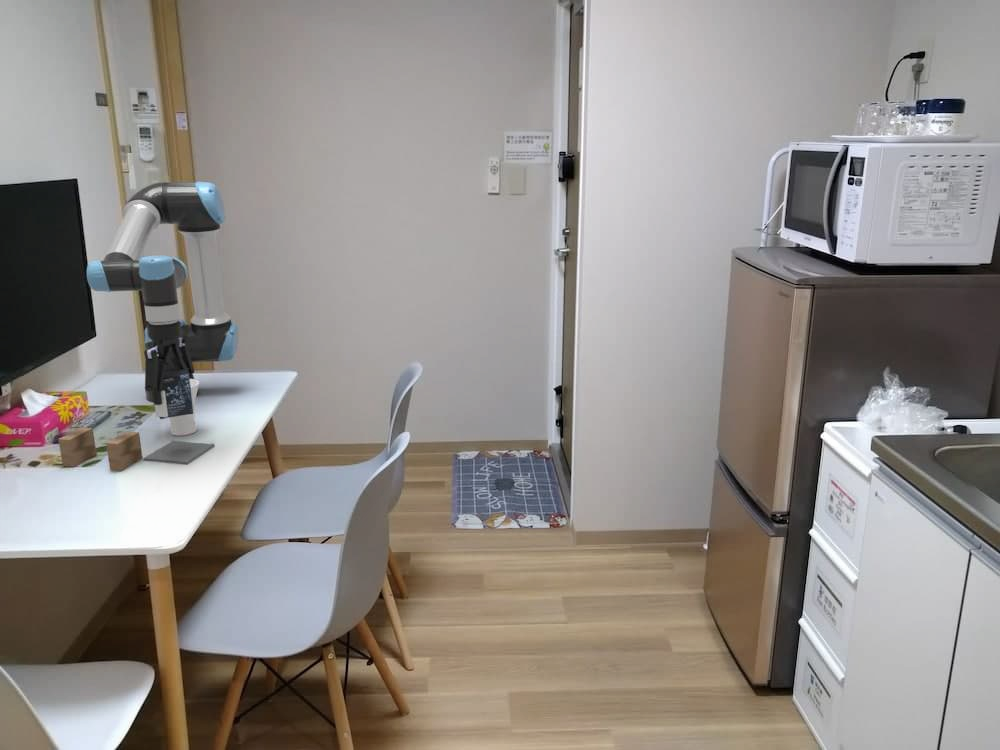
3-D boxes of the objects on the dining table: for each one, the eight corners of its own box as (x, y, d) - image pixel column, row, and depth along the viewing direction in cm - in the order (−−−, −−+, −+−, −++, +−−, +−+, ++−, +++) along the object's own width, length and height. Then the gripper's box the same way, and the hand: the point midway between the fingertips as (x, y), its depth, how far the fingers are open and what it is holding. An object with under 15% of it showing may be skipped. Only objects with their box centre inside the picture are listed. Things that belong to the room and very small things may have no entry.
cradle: (86, 453, 193) (81, 427, 191) (142, 458, 190) (138, 432, 188) (62, 465, 186) (58, 438, 184) (121, 471, 183) (117, 444, 181)
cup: (164, 441, 201) (158, 392, 198) (161, 428, 210) (155, 381, 206) (206, 434, 206) (201, 386, 202) (201, 422, 215) (196, 376, 211)
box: (160, 420, 186) (155, 378, 183) (156, 413, 191) (150, 372, 188) (194, 414, 190) (189, 373, 187) (189, 408, 195) (184, 368, 192)
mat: (172, 442, 200) (172, 440, 200) (214, 446, 198) (214, 444, 198) (143, 460, 189) (143, 458, 189) (187, 464, 187) (187, 462, 187)
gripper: (176, 311, 195) (186, 395, 201) (119, 330, 174) (132, 423, 180) (203, 312, 193) (212, 397, 200) (148, 332, 173) (160, 425, 179)
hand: (174, 409), depth 190 cm, fingers closed on box, 9 cm apart
